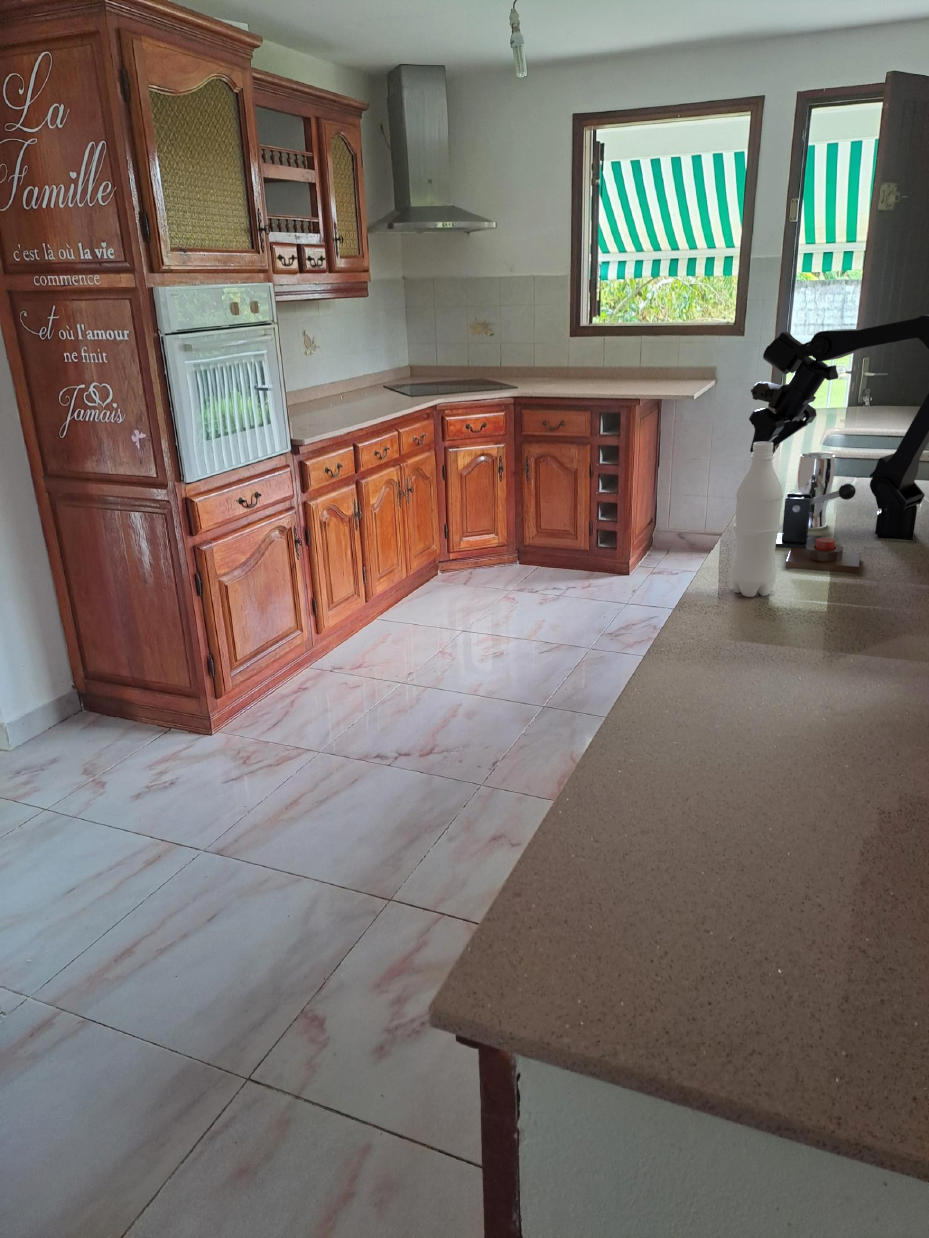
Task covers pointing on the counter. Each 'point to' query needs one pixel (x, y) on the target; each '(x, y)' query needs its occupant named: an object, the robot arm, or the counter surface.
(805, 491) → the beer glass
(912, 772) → the counter surface
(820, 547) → the red push button
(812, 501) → the lever with ball knob
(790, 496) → the black lever housing
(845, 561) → the control block
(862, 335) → the robot arm
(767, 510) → the water bottle
